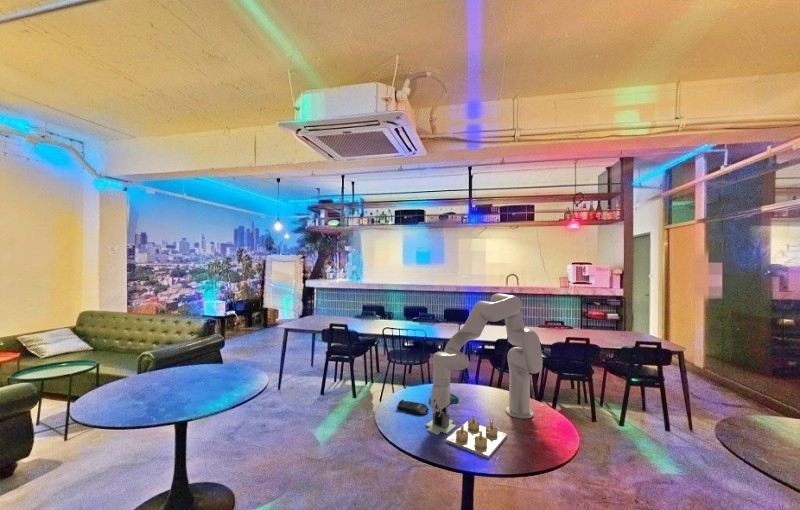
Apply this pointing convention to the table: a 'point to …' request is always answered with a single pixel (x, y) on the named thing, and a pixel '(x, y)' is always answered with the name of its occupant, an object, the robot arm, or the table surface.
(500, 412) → the table surface
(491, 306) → the robot arm
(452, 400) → the digital multimeter
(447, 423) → the board
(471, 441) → the chassis
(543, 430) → the table surface
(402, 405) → the electronic device
